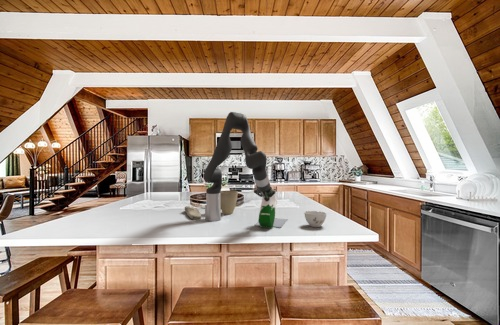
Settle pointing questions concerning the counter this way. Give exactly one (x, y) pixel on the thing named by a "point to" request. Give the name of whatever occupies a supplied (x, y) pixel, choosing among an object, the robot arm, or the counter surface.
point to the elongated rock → (193, 213)
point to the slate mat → (276, 223)
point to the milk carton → (268, 212)
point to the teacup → (315, 218)
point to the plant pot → (228, 201)
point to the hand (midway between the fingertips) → (267, 200)
